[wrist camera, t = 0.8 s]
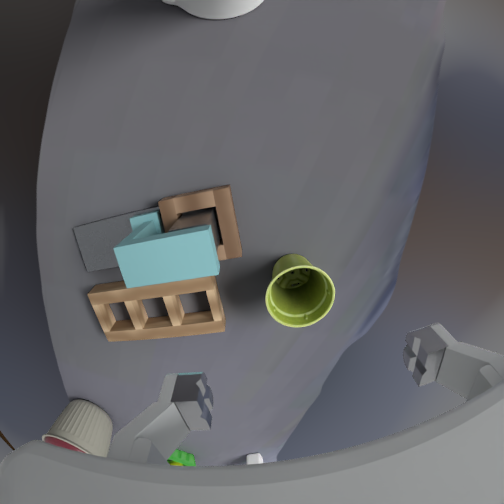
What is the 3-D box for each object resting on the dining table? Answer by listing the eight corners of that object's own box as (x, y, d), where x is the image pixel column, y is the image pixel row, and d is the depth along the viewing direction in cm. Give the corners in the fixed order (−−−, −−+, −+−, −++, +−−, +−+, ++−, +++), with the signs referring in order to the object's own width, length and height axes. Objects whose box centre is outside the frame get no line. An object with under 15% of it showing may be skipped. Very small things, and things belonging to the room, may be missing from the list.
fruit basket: (154, 450, 65) (148, 480, 54) (164, 440, 62) (157, 472, 52) (189, 462, 67) (186, 491, 57) (201, 452, 65) (198, 484, 54)
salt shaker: (259, 452, 65) (261, 479, 56) (263, 457, 66) (264, 483, 57) (245, 453, 65) (246, 481, 56) (249, 459, 66) (250, 485, 58)
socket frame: (229, 184, 40) (228, 187, 37) (242, 249, 44) (241, 256, 41) (74, 221, 41) (65, 225, 38) (92, 274, 44) (84, 282, 42)
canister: (135, 429, 61) (117, 491, 41) (92, 431, 63) (73, 483, 43) (92, 386, 55) (61, 452, 35) (53, 392, 57) (24, 445, 37)
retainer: (217, 198, 39) (206, 220, 28) (226, 245, 42) (220, 282, 30) (132, 216, 40) (95, 243, 28) (144, 259, 42) (114, 297, 31)
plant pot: (271, 304, 47) (276, 335, 39) (253, 254, 44) (256, 278, 36) (324, 287, 46) (340, 315, 38) (312, 235, 43) (327, 256, 35)
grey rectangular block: (184, 211, 41) (168, 231, 32) (215, 206, 41) (206, 223, 32) (191, 240, 43) (177, 267, 33) (221, 235, 43) (214, 261, 33)
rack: (95, 284, 45) (87, 294, 42) (212, 266, 44) (210, 276, 41) (115, 330, 49) (108, 341, 45) (225, 319, 48) (224, 331, 45)
